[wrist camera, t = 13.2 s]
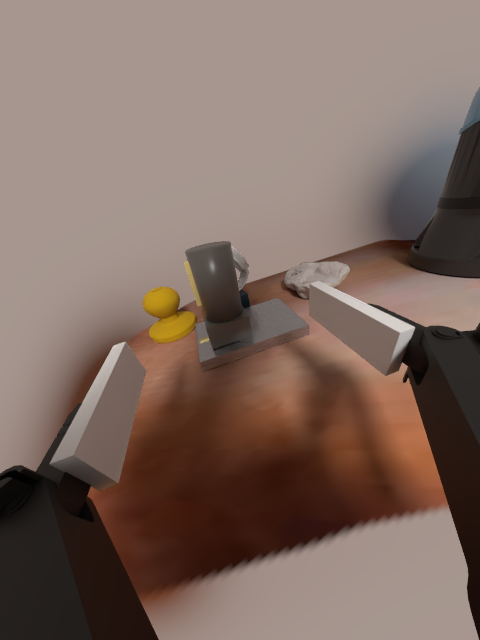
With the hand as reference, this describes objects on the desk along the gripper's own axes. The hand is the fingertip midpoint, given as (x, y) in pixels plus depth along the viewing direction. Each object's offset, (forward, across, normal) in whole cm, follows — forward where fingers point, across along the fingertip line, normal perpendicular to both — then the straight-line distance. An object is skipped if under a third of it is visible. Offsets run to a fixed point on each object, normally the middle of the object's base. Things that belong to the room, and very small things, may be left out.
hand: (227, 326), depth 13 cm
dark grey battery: (+10, 0, -7) cm, 12 cm away
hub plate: (+10, +3, -9) cm, 14 cm away
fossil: (+16, +18, -9) cm, 25 cm away
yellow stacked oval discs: (+18, -8, -9) cm, 22 cm away
